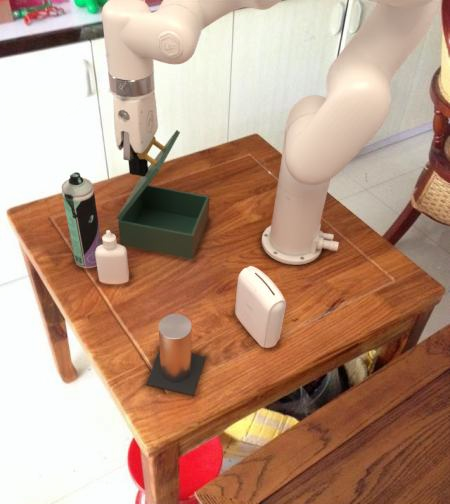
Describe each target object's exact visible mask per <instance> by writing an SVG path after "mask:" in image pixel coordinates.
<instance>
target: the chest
mask: <svg viewBox="0 0 450 504" xmlns="http://www.w3.org/2000/svg"><path fill="white" fill-rule="evenodd" d="M209 215H210V196H208V195H203V194H199V193H193V192H188V191H183V190H177V189H172V188H167V187H161V186H156V185H151V184H148V186H147V187H146V188H145V189H144V191H143V192H142V193H141V194H140V196H139V197H138V198H137V200H136V201H135V202H134V203H133V205H132V206H131V207H130V208H129V210H128V211H127V212H126V214H125V215H124V216H123V217H122V219H121V220H118V230H119V241H120V245H122V246H124V247H131V248H135V249H140V250H145V251H150V252H154V253H161V254H165V255H170V256H175V257H179V258H184V259H189V260H193V259H194V257H195V253H196V251H197V249H198V246H199V245H200V242H201V239H202V236H203V234H204V231H205V229H206V226H207V224H208V223H209Z"/></svg>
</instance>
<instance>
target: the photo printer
mask: <svg viewBox="0 0 450 504" xmlns="http://www.w3.org/2000/svg"><path fill="white" fill-rule="evenodd" d="M235 295H236V297H235V305H234V314H235V316H236V318H237V319H238V321H239V322H240V324H241V325H242V326H243V328H244V329H245V330H246V331H247V333H248V334H249V335H250V336H251V337H252V339H254V340H255V342H256V343H257V344H258V345H259V346H260V347H261V348H265V349H269V348H270V349H271V348H273V347H275V346H276V345H277V344H278V341H279V340H281V334H282V329H283V323H284V318H285V317H284V316H285V313H286V308H287V301H286V299H285V297H284V295H283V293H282V292H281V290H280V289H279V287H278V286H277V285H276V283H275V282H273V280H272V279H271V278H270V277H269V276H268V275H266V273H265V272H263V271H262V270H260V269H259V268H258V267H255V266H253V265H249V266H248V267H244V268H242V270H241V271H240V272H239V274H238V277H237V285H236V294H235Z"/></svg>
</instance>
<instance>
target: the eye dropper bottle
mask: <svg viewBox="0 0 450 504" xmlns="http://www.w3.org/2000/svg"><path fill="white" fill-rule="evenodd" d="M101 242H102V243H101V244H102V245H99V246H98V247H97V248H96V252H95V256H96V263H97V266H96V270H97V275H98V281H99V282H100V283H102V284H107V285H122V284H125V283H128V282H129V281H130V269H129V260H128V252H127V251H128V250H127V248H126V246H125V245H121V243H117V242H118V241H117V236H116V235H115V234H114V233H112V231H111V230H110V229H107V230H106V231H105V234H103V235H102V237H101Z"/></svg>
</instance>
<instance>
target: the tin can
mask: <svg viewBox="0 0 450 504" xmlns="http://www.w3.org/2000/svg"><path fill="white" fill-rule="evenodd" d="M192 326H193V325H192V322H191V320H190V318H189V317H187V316H186V315H184V314H182V313H181V314H180V313H170V314H167V315H165V316H164V317H162V318H161V319H160V321H159V322H158V341H159V343H158V344H159V350H160V365H161V374H162V376H163V377H164V378H165V379H166V380H167V381H170V382H175V383H176V382H182V381H184V380H185V379H187V378H188V377H189V375H190V373H191V354H192V335H193V332H192V331H193V330H192V329H193V327H192Z"/></svg>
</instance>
